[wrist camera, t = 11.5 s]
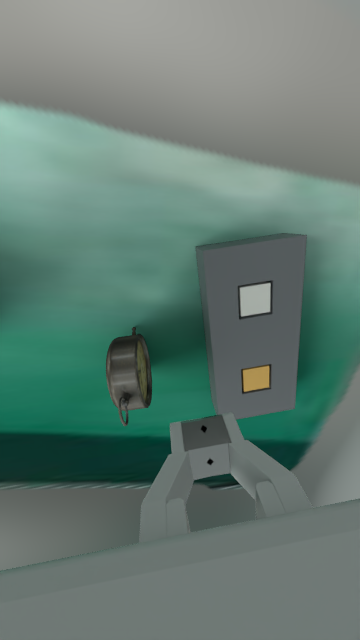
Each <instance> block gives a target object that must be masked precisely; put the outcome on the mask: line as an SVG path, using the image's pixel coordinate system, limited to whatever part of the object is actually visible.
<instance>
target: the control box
mask: <svg viewBox="0 0 360 640" xmlns="http://www.w3.org/2000/svg"><path fill="white" fill-rule="evenodd" d="M306 238H307V235H301V234H288V233H282V234H275V235H268V236H262V237H255V238H249V239H242V240H236V241H229V242H223V243H216V244H210V245H203V246H197V247H196V256H197V266H198V275H199V285H200V294H201V303H202V313H203V322H204V332H205V341H206V350H207V360H208V369H209V379H210V388H211V397H212V402H213V405H214V408H215V411H216V414H217V415H219V414H224V413H230V412H232V413H233V415H234V417H235V419H241V418H246V417H252V416H257V415H263V414H268V413H274V412H279V411H284V410H290V409H295V397H296V383H297V368H298V354H299V339H300V325H301V310H302V296H303V281H304V267H305V252H306ZM264 281H270V283H271V286H270V312H266V313H260V314H254V315H248V316H242V317H239V308H238V286H240V285H246V284H252V283H258V282H264ZM268 364H269V387H268V388H262V389H256V390H251V391H245V392H244V391H243V389H242V379H241V369H245V368H250V367H256V366H262V365H268Z"/></svg>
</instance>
